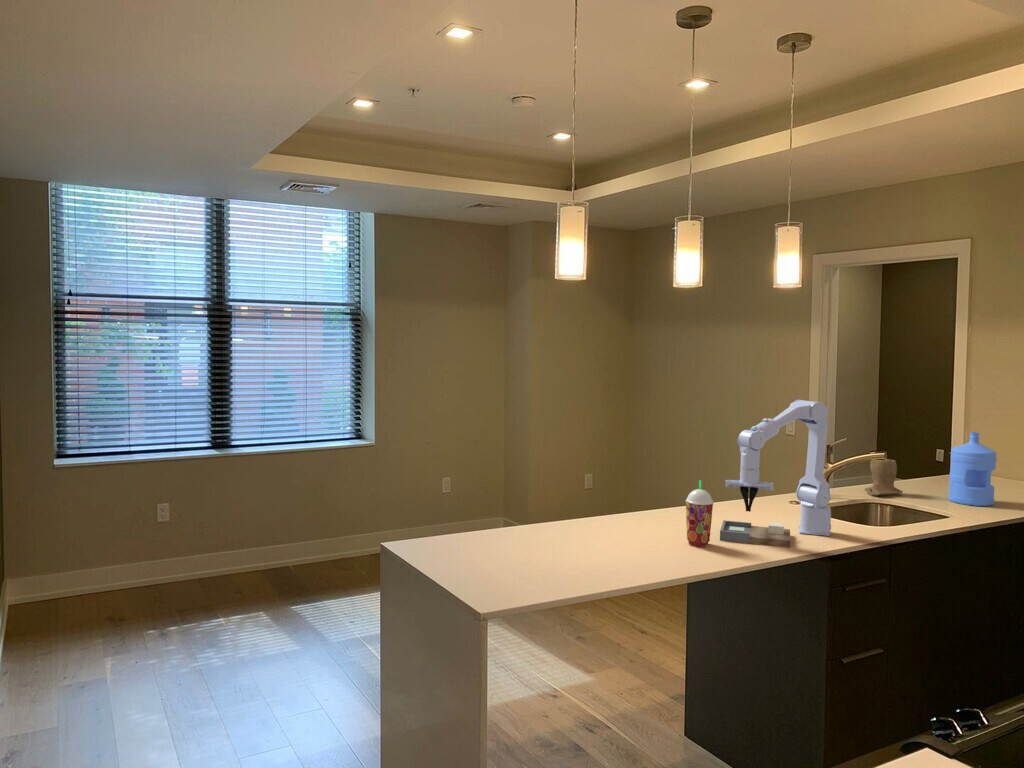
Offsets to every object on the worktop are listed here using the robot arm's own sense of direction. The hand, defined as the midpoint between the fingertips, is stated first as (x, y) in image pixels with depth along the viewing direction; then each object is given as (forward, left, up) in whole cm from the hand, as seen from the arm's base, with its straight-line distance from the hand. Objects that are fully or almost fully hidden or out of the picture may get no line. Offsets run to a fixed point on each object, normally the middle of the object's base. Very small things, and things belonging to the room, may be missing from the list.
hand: (748, 510), depth 245 cm
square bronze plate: (-7, -4, -9) cm, 12 cm away
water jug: (-82, -94, -10) cm, 125 cm away
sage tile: (+3, 0, -8) cm, 9 cm away
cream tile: (-9, -5, -7) cm, 13 cm away
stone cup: (-50, -97, -10) cm, 109 cm away
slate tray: (+4, -4, -9) cm, 11 cm away
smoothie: (+14, +11, -10) cm, 21 cm away
